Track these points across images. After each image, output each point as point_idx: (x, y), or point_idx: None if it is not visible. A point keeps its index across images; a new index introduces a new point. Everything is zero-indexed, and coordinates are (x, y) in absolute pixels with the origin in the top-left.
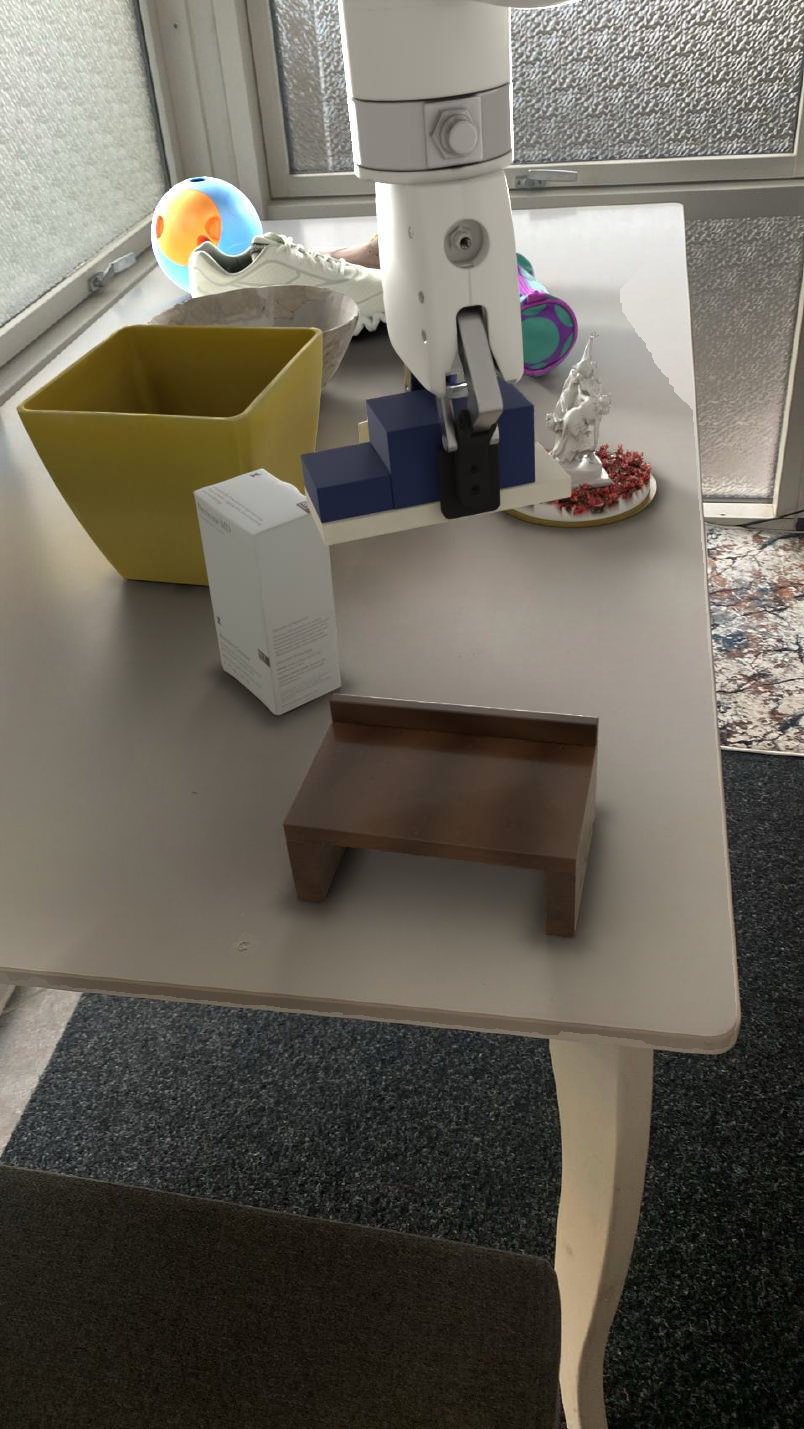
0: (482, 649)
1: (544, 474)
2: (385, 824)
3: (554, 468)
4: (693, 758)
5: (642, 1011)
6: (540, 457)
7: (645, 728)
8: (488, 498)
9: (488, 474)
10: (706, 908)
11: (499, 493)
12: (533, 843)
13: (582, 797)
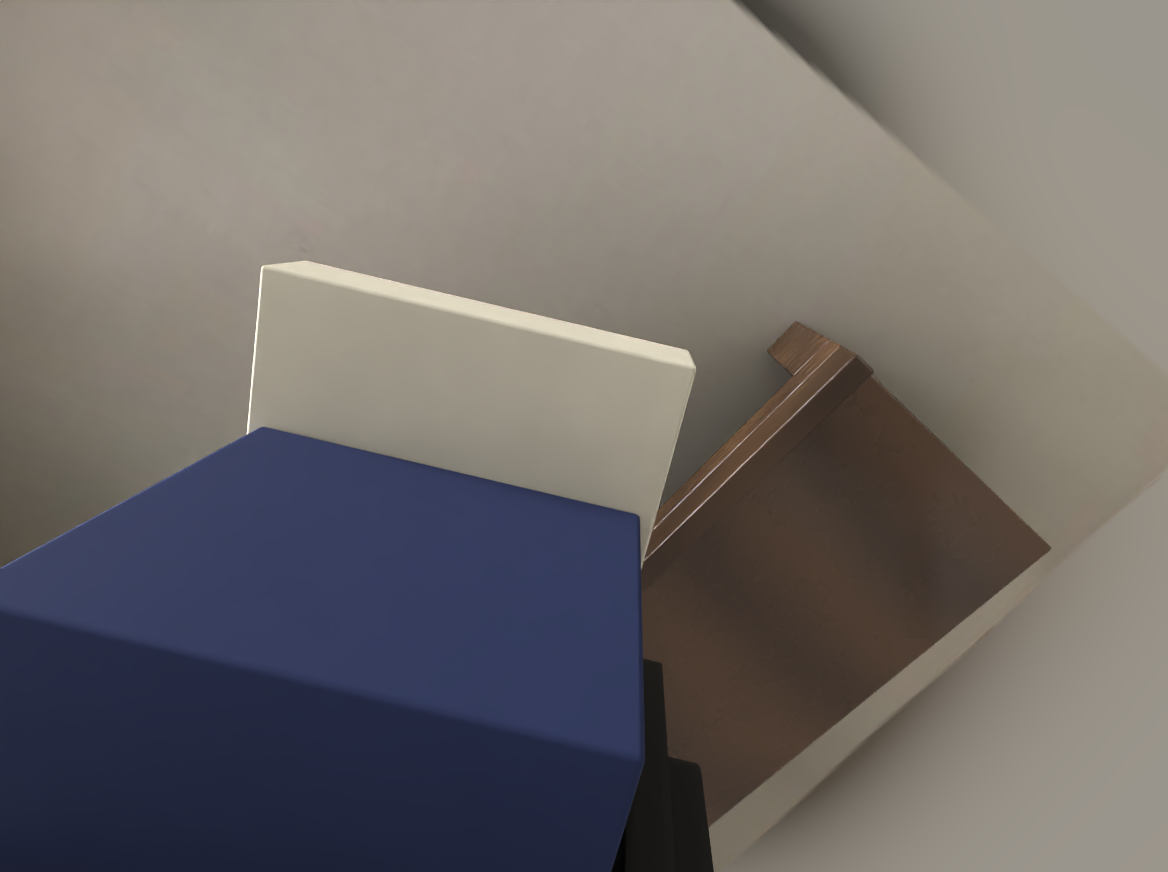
0: (295, 226)
1: (597, 442)
2: (799, 725)
3: (573, 374)
4: (783, 83)
5: (1115, 483)
6: (435, 358)
7: (665, 104)
8: (698, 765)
9: (709, 845)
10: (1050, 301)
11: (662, 693)
12: (982, 582)
13: (948, 460)
